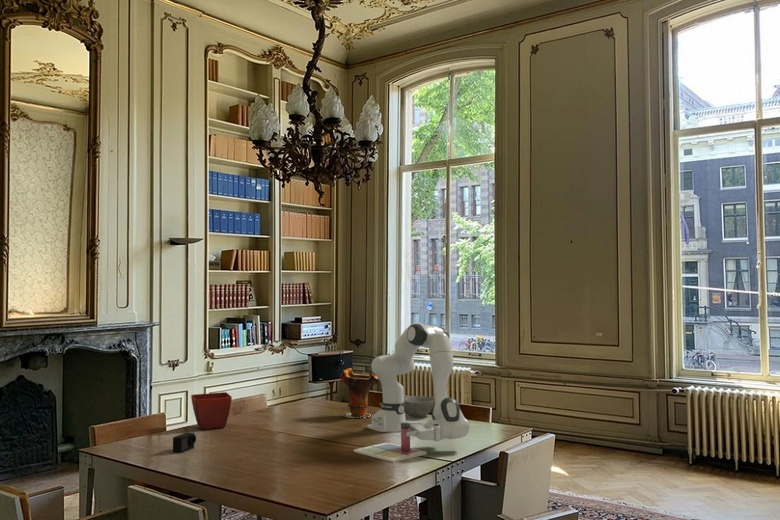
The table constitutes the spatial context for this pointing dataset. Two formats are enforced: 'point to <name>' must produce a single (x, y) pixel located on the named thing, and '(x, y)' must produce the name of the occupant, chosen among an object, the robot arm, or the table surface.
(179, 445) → the digital camera
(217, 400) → the plant pot
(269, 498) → the table surface
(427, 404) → the ceramic bowl
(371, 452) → the picture board
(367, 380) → the decorative vase
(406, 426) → the marker
